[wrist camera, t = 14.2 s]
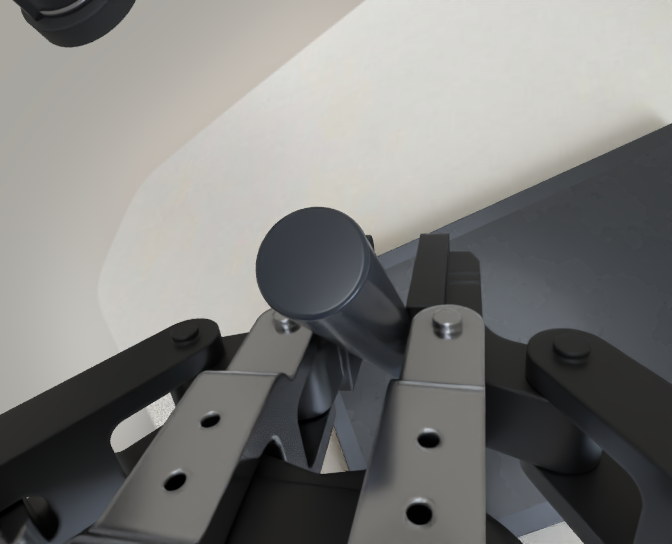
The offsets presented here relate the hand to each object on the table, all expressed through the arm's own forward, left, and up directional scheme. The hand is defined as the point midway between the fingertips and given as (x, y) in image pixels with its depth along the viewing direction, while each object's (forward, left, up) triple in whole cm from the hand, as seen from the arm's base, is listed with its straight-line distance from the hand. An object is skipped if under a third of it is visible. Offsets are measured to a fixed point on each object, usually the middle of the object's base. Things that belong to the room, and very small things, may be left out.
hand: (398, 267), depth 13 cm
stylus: (-1, -2, -7) cm, 7 cm away
